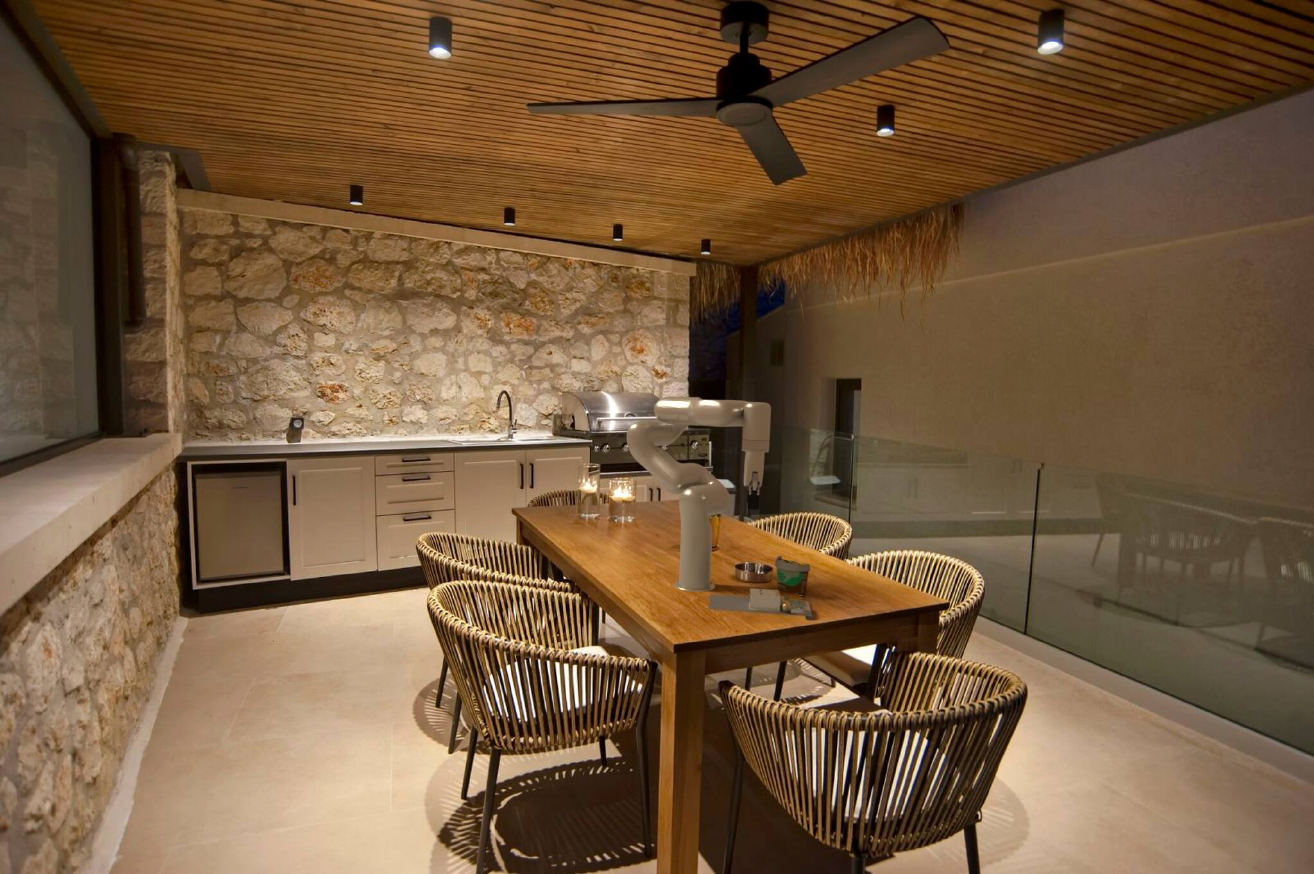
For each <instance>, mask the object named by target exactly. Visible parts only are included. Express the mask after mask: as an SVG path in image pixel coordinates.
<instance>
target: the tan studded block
mask: <svg viewBox="0 0 1314 874" xmlns="http://www.w3.org/2000/svg"><path fill="white" fill-rule="evenodd" d="M749 597H750V601H749V603H750V609H760V610H775V611H780V599H781V594H780V590H779V589H776V588H775V589H765V588H763V589H762V588H749Z"/></svg>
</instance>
